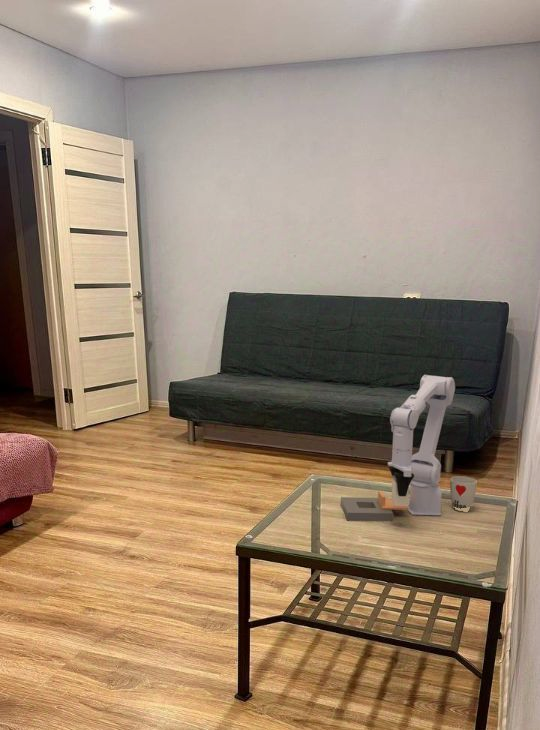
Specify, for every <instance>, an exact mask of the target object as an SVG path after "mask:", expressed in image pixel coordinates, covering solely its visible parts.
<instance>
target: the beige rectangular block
mask: <svg viewBox="0 0 540 730" xmlns="http://www.w3.org/2000/svg"><path fill="white" fill-rule="evenodd" d="M391 477H392V476H391ZM391 481H392V485H391V498H390V499H391V501H392V503H393V504H394V505H395V506H408V505H409V498H410V486H409V487H408V491H407V494H406V496H399V495H398V490H397V481H396V478H395V475H393V477H392V480H391Z"/></svg>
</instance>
